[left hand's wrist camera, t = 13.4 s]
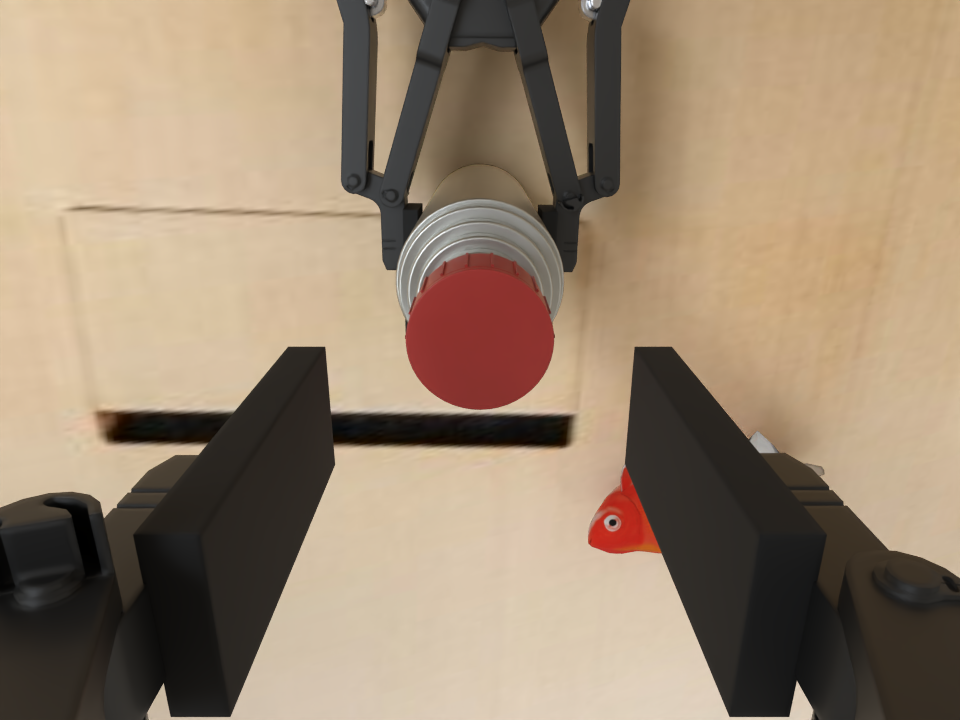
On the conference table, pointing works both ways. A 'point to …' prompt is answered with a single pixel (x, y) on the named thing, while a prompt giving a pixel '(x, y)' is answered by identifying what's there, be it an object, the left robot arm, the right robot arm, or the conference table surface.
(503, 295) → the cap
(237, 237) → the conference table surface
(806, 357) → the conference table surface
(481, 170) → the bottle
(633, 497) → the fish
